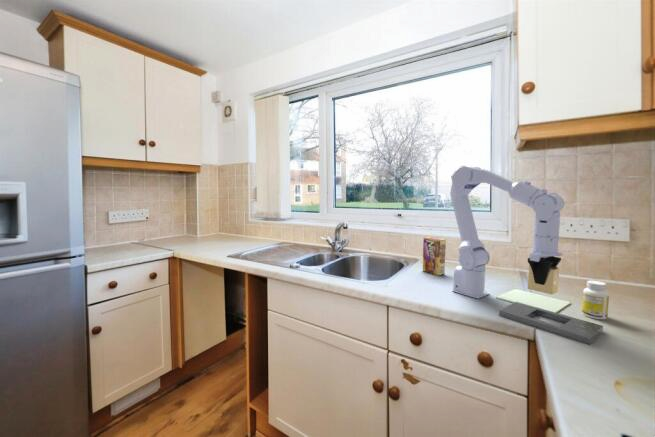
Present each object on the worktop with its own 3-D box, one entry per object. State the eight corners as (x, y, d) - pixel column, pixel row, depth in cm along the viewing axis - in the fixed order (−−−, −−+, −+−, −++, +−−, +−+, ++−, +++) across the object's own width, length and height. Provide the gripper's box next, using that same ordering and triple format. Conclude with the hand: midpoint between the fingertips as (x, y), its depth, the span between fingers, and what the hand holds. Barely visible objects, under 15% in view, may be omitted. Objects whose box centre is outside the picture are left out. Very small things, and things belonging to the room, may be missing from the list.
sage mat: (496, 298, 98) (496, 296, 98) (515, 289, 106) (515, 288, 106) (554, 314, 85) (554, 313, 85) (570, 303, 93) (570, 302, 93)
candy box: (445, 274, 126) (446, 239, 125) (438, 275, 124) (440, 240, 122) (428, 269, 133) (429, 236, 132) (422, 271, 131) (422, 237, 130)
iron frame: (499, 315, 84) (499, 310, 84) (516, 306, 91) (516, 301, 90) (589, 344, 68) (590, 338, 68) (602, 331, 74) (603, 325, 74)
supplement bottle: (594, 311, 86) (597, 279, 85) (612, 319, 81) (615, 285, 80) (576, 312, 86) (579, 279, 85) (593, 320, 81) (596, 285, 80)
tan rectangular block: (527, 288, 86) (529, 265, 85) (533, 286, 88) (535, 263, 88) (552, 294, 81) (554, 269, 81) (557, 291, 83) (559, 267, 83)
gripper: (553, 240, 76) (549, 291, 77) (572, 235, 84) (568, 281, 85) (522, 236, 82) (519, 284, 83) (543, 232, 90) (540, 275, 91)
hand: (542, 282), depth 85 cm, fingers closed on tan rectangular block, 4 cm apart
